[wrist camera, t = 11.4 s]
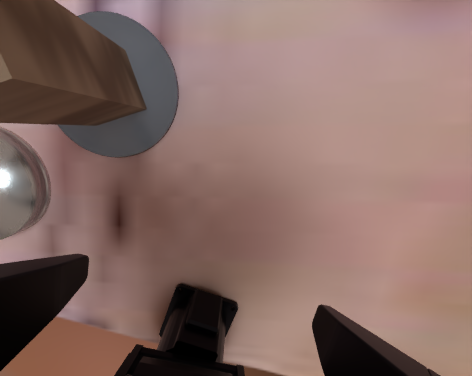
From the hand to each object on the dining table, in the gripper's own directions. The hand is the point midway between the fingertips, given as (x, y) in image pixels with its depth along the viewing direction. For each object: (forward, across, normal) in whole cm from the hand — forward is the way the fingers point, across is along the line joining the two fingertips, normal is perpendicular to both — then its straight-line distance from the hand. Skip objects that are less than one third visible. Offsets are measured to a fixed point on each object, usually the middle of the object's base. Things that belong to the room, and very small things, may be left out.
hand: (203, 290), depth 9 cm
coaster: (+13, -11, +7) cm, 18 cm away
